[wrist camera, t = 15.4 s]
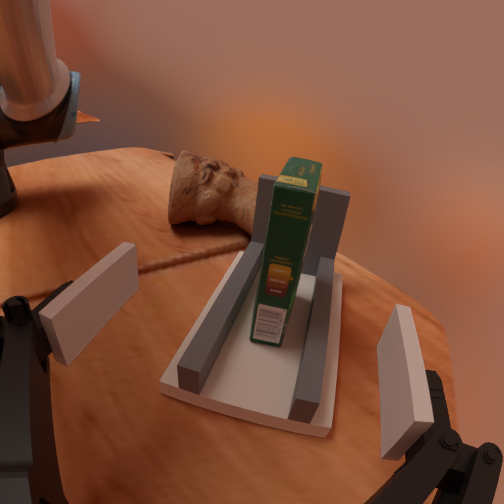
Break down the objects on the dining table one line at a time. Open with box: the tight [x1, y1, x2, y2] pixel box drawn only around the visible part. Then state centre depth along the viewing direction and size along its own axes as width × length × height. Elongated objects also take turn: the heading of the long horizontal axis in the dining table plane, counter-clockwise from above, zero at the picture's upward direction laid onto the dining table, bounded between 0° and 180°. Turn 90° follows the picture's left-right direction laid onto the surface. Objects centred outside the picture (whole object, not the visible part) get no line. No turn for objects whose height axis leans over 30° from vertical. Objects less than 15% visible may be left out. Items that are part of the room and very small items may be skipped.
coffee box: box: [249, 157, 322, 348], centre depth 25 cm, size 8×3×13 cm, turn 166°
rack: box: [159, 174, 350, 438], centre depth 26 cm, size 12×20×11 cm, turn 166°
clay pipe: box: [168, 150, 258, 236], centre depth 43 cm, size 19×11×15 cm
